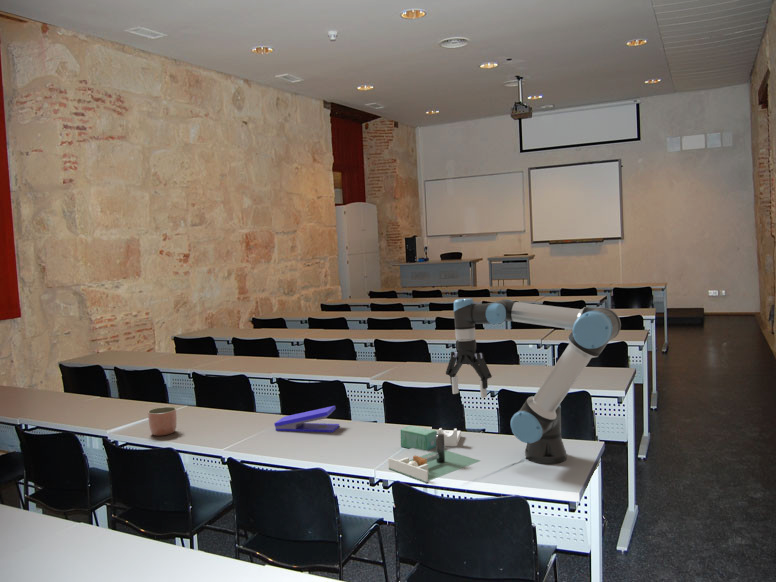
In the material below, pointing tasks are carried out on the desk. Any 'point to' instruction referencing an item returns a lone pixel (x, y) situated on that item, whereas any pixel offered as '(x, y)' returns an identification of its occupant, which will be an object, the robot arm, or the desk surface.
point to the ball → (413, 463)
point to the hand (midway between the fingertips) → (469, 395)
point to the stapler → (299, 421)
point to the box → (418, 438)
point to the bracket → (450, 437)
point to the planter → (162, 420)
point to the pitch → (431, 466)
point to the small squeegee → (438, 456)
